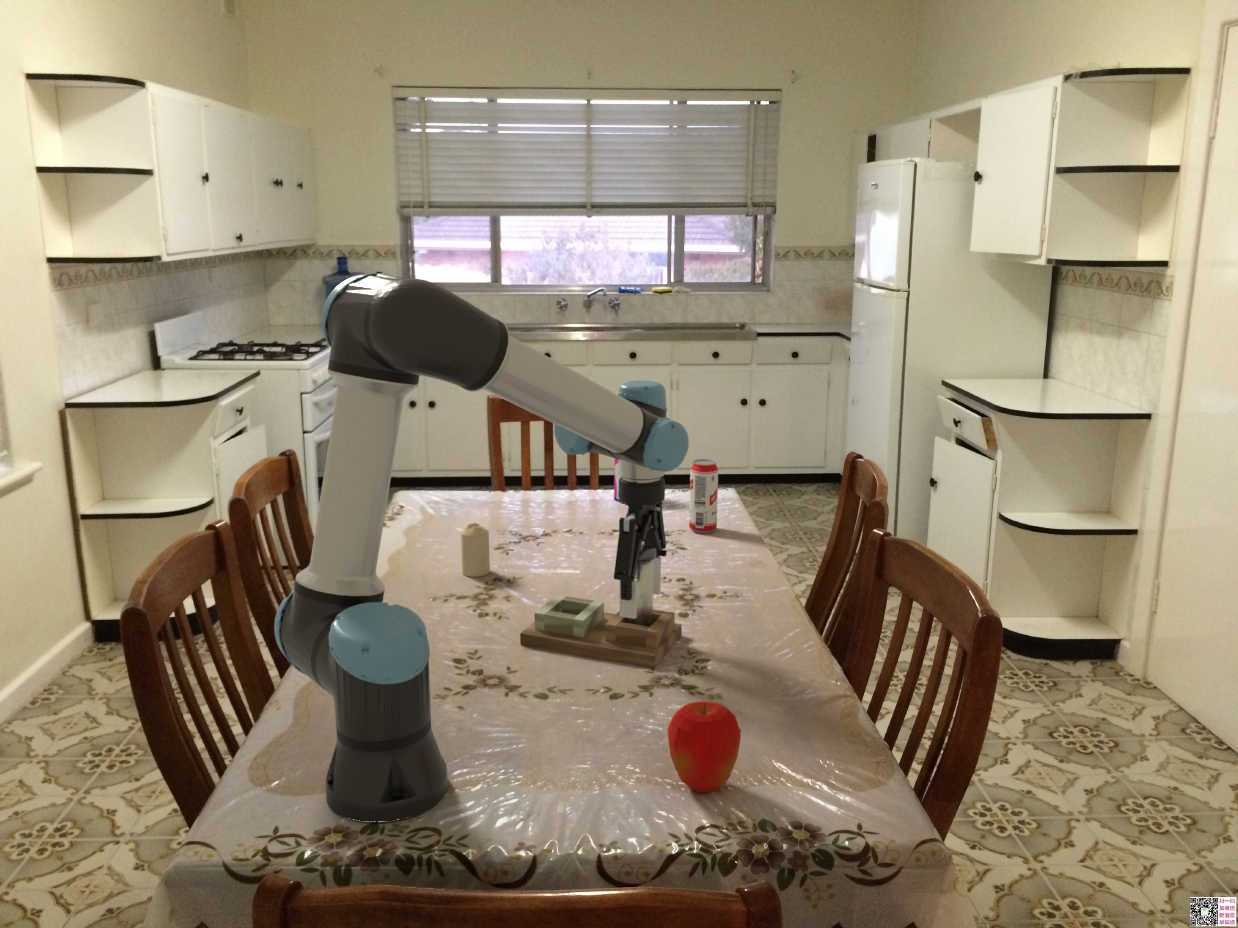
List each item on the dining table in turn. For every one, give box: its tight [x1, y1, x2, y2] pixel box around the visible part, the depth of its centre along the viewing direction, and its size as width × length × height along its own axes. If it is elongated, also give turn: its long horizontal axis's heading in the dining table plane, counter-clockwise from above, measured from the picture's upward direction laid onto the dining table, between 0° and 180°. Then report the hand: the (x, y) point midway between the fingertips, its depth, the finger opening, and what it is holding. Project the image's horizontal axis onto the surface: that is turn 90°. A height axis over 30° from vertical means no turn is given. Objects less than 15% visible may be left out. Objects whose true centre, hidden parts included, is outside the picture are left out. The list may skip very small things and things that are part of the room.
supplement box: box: [613, 458, 627, 505], centre depth 263 cm, size 6×6×12 cm
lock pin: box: [629, 543, 656, 627], centre depth 176 cm, size 5×5×15 cm
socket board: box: [519, 594, 683, 668], centre depth 181 cm, size 14×24×5 cm, turn 68°
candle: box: [460, 522, 491, 578], centre depth 212 cm, size 6×6×10 cm
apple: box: [666, 700, 742, 794], centre depth 135 cm, size 9×9×12 cm
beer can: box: [688, 458, 719, 534], centre depth 239 cm, size 6×6×16 cm
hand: (640, 604), depth 177 cm, fingers open, 11 cm apart
